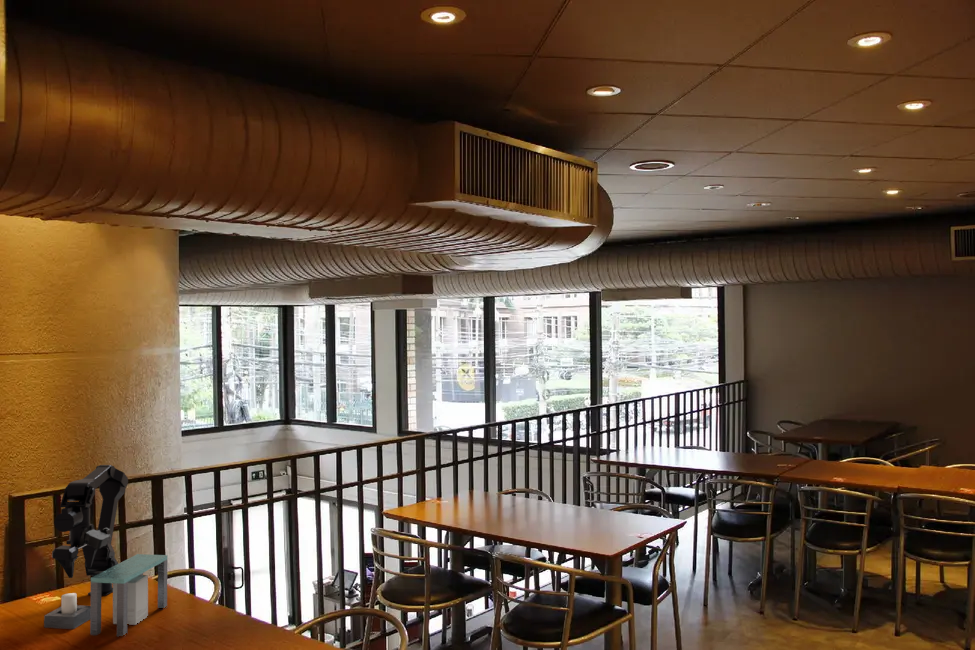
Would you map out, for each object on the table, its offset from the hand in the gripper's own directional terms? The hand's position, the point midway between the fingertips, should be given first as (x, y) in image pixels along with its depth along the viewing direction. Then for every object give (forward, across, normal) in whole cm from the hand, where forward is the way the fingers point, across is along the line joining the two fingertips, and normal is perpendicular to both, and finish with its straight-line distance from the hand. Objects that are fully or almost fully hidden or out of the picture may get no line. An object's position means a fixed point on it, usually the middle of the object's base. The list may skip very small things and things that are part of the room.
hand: (80, 572), depth 244 cm
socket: (+11, -10, -3) cm, 16 cm away
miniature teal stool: (+11, -6, -20) cm, 24 cm away
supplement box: (+12, -6, -20) cm, 24 cm away
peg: (+11, -10, -3) cm, 15 cm away
